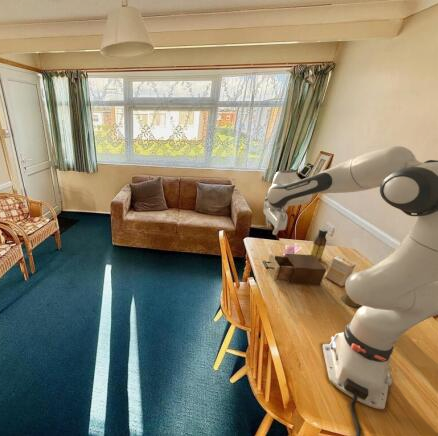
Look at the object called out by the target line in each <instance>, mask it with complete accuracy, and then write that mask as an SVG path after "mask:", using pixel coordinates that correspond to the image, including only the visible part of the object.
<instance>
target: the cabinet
mask: <svg viewBox="0 0 438 436" xmlns="http://www.w3.org/2000/svg"><path fill="white" fill-rule="evenodd" d="M284 253H285V252H284ZM284 256H286V257H287V258H288V259H289V261H290V262H291V264H292V265H293V266H294V270H293V273H292V276H291V279H290V280H287V281H288V283H289V284H291V285H303V286H315V287H316V286H317V287H320V286H321V284H322V282H323V280H324V276H325V275H326V273H327V272H326V271H327V268H325V266H324V265H323V264H322V263H321V262H320V260H317V259H316V258H315V257H314V255H309V254H300V253H296V254H286V253H285V255H284Z"/></svg>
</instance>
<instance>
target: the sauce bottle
mask: <svg viewBox="0 0 438 436" xmlns="http://www.w3.org/2000/svg"><path fill="white" fill-rule="evenodd" d="M327 234H328V229H327V228H322V227H320V228H319V229H318V233H317V235H316V236H315V237H314V238H313V240H312V244H311V247H310V250H309V254H308V255H314V257H315V258H316V259H317V260H318V261H320V260H321V259H322V257H323V254H324V251H325V247H326V244H327V242H328V240H327V238H326V237H327Z"/></svg>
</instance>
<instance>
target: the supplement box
mask: <svg viewBox="0 0 438 436" xmlns="http://www.w3.org/2000/svg"><path fill="white" fill-rule="evenodd" d="M356 265H357V264H356V263H354V262H352V261H350V260H348V259H346V258H344V257H343V256H340V255H338V256H337V255H336V256H335V257H333V258H332V260H331V263H330V265H329V268H328V270H327V272H326V274H325V278H326V279H327V280H329V281H331V282H333V283H334V284H336V285H338V286H339V287H345V282H346V280H347V278H348V277H349V276H350V275H351V274H353V271H354V269H355V267H356Z"/></svg>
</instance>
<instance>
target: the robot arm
mask: <svg viewBox="0 0 438 436" xmlns="http://www.w3.org/2000/svg"><path fill="white" fill-rule="evenodd" d="M376 188H379V194H380V196H381V198H382V200H384V202H385V203H387V205H389V206H391V207H393V208H395V209H398V210H400V211H401V212H402V213H404V214H405V215H406V216H409V217H417V220H416V222H415V224H414V225H413V226H412V228H411V229H410V230H409V232H408V233H407V235H406V236H405V237H404V239H403V240H402V241H401V242H400V243H399V245H398V246H397V247H396V248H395V250H394V251H392V253H391V254H389V255H387V257H385V258H384V259H382V260H380V261H379V262H378V263H376V264H374V265H371V266H370V267H368V268H366V269H363V270H360V271H357V272H352V274H351V275H350V276H349V277H348V278H347V280H346V282H345V285H344V289H345V292H346V293H345V294H347V295H348V296H349V298H350V299H351V300H352V301H353V302H355V303H357V304H359V306H360V307H359V308H358V309H357V310H356V312H355V314H354V316H353V317H352V319H351V321H350V322H348V323H347V324H346V325H345V327H344V330H343V331H341V332H338V333H336V334H335V335H334V336H331V341H330V343H323V344H322V351H323V352H322V353H323V357H324V362H325V367H326V371H327V376H328V380H329V383H331V384H332V385H333V386H334V387H336V388H337V389H338V390H339V391H341V392H342V393H344V394H345V395H346V396H348V397H350V398H352V401H350V412H351V415H352V419H353V422H354V425H355V431H356V434H355V436H362V435H361V433H362V432H361V427H360V424H359V421H358V418H357V415H356V411H355V405H356V404H357V402H359V403H361V404H363V405H366V406H368V407H370V408H373V409H377V410H385V407H386V404H387V398H388V392H389V386H390V387H391V385H393V381H394V380H393V378H391V375H390V373H389V372H392V370H393V366H390V362H391V359H392V354H393V351H394V347H395V344H396V343H397V342H398V340H399V339H400V338H401V337H402V336H403V334H405V332H407V331H408V330H409V329H411V328H413V327H415V326H417V325H419V324H421V323H422V322H424V321H426V320H428V319H430V318H432V317H433V318H434V317H435V316H438V160H437V159H436V160H435V159H428V160H425V161H423V162H422V161H419V160H417V158H416V155H415V154H414V153H413V151H412V150H410V149H409V148H407V147H404V146H399V145H394V146H388V147H385V148H381V149H376V150H373V151H370V152H366V153H363V154H361V155H357V156H355V157H353V158H350V159H348V160H346V161H343V162H340V163H338V164H336V165H334V166H332V167H329V168H327V169H324V170H323V171H320V172H318V173H316V174H313V175H311V176H308V177H305V178H302V179H301V178H300V177H299V176H298V173H297V172H296V171H295V170H279V171H277V172H275V174H274V175H273V178H272V182H271V186H270V187H269V188H268V190H267V192H266V197H264V199H263V200H264V204H263V209H262V210H263V214H264V215H265V225H266V226H267V227H270V226H271V225H272V226H273V227H274V228H273V230H272V232H271V233H272V235H273V236H277V235H278V233H279V231H285V230H286V229H287V225H288V219H289V216H288V214H287V210H288V209H289V207H292V206H293V207H294V206H301V205H306V204H309V203H310V202H312V200H313V198H314V195H315V194H316V195H317V194H318V195H319V194H346V193H347V194H348V193H358V192H364V191H369V190H372V189H376ZM388 371H389V372H388Z"/></svg>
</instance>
